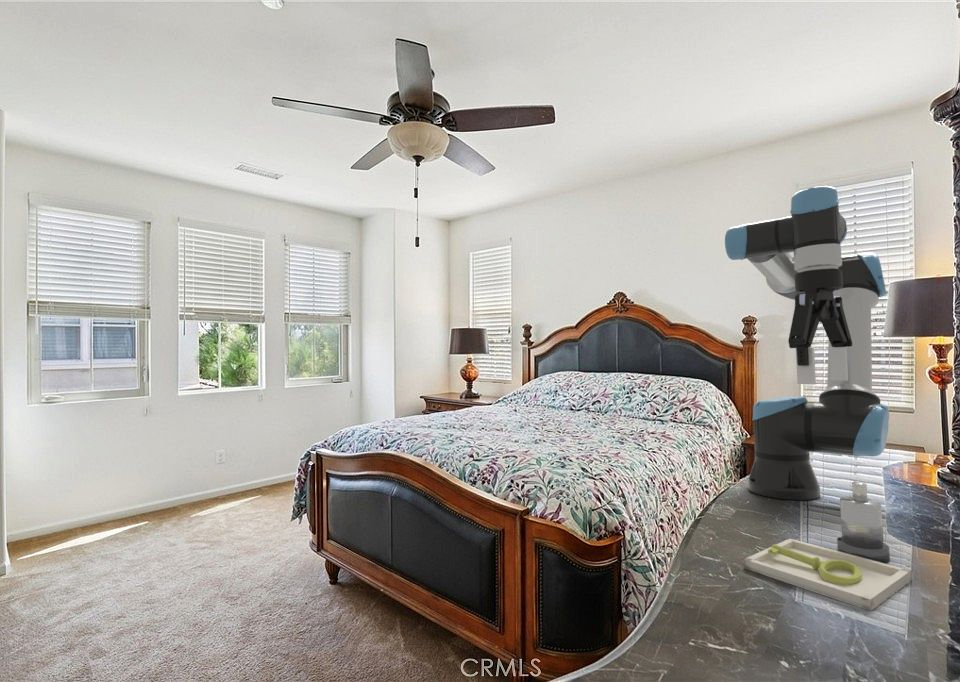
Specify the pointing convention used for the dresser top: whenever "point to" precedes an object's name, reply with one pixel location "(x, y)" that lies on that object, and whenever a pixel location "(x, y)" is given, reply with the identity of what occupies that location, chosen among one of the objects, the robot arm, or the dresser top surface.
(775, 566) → the tray
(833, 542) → the dresser top surface
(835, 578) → the key
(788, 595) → the dresser top surface
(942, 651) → the dresser top surface
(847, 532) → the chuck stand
